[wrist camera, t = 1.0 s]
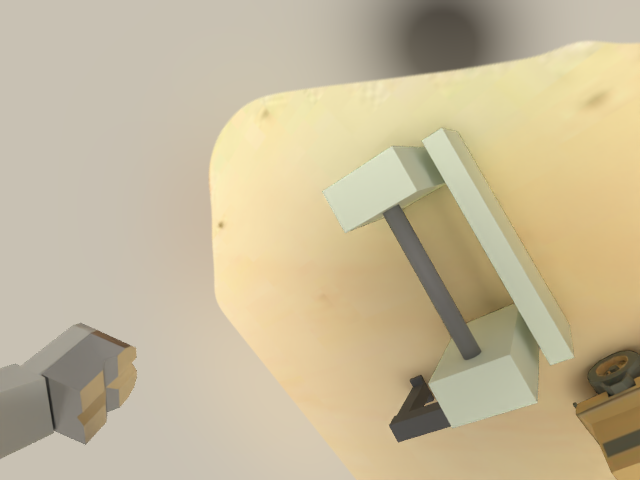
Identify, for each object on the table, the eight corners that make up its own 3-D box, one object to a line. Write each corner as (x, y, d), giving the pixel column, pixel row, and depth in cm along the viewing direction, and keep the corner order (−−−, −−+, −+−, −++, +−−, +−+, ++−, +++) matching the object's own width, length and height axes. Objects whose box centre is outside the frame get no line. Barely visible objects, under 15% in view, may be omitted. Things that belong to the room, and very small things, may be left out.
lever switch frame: (569, 325, 45) (579, 390, 33) (475, 359, 50) (452, 428, 37) (457, 131, 47) (425, 123, 34) (376, 182, 51) (322, 191, 39)
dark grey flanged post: (478, 383, 50) (464, 429, 42) (423, 402, 53) (401, 447, 45) (464, 359, 50) (448, 399, 42) (410, 378, 53) (386, 420, 45)
